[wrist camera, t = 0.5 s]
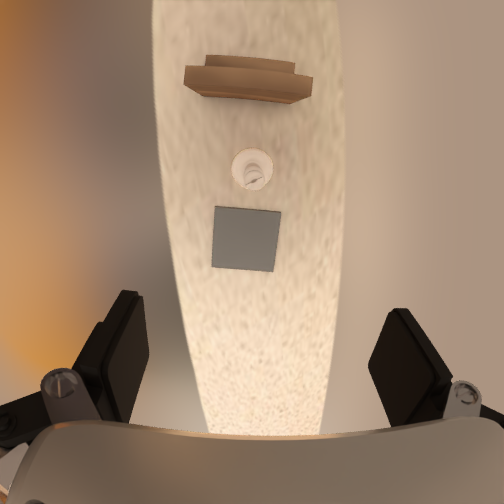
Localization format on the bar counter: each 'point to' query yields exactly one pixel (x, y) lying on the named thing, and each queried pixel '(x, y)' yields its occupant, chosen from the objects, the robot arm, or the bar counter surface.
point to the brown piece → (248, 79)
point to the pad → (245, 238)
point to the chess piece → (252, 168)
